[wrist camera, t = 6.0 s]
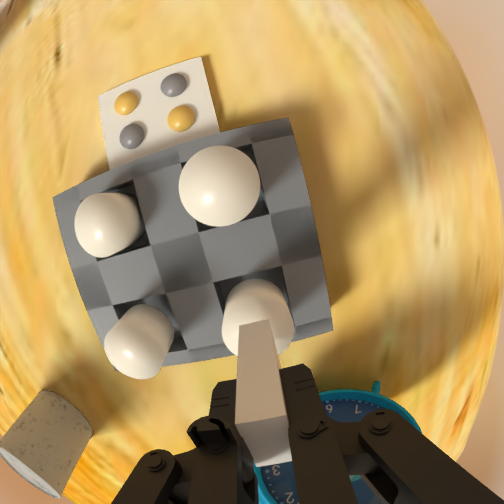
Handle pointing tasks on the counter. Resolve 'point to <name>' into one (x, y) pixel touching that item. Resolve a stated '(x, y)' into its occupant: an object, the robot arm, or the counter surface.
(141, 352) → the button
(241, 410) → the robot arm
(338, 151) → the counter surface
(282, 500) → the alarm clock
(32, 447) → the speckled white tin can
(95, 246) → the button
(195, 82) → the card
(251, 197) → the button
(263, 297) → the button
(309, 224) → the button board
